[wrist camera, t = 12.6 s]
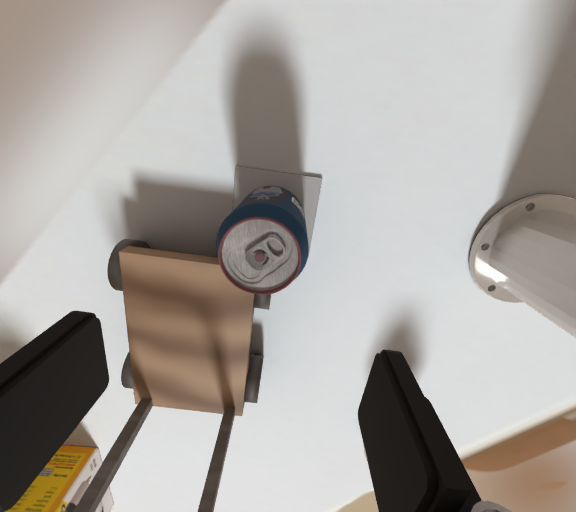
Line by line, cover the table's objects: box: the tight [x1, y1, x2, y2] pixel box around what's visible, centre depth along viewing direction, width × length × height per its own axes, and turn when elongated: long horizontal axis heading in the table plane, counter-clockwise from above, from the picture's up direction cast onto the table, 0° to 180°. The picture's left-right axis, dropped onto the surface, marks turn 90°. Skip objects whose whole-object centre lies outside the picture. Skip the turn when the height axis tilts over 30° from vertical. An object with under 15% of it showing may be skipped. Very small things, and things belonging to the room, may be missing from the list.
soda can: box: [216, 186, 309, 295], centre depth 24 cm, size 7×7×12 cm
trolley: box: [73, 239, 271, 512], centre depth 26 cm, size 20×16×21 cm
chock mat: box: [233, 166, 322, 256], centre depth 30 cm, size 9×9×1 cm
